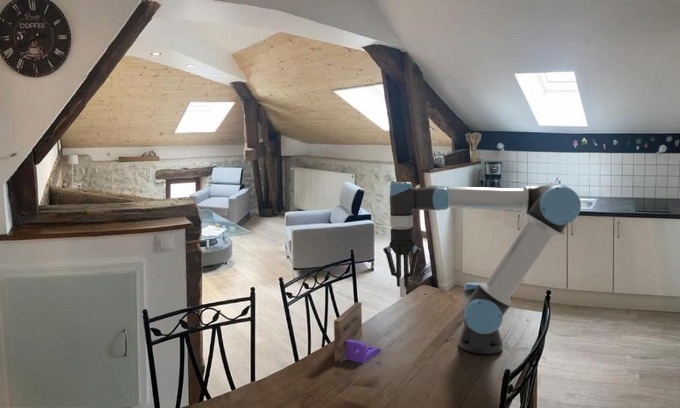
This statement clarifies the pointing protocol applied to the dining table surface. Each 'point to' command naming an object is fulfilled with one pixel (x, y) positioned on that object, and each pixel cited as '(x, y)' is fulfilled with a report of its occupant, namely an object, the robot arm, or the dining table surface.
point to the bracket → (360, 351)
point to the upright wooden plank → (347, 329)
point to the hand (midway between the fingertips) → (403, 296)
